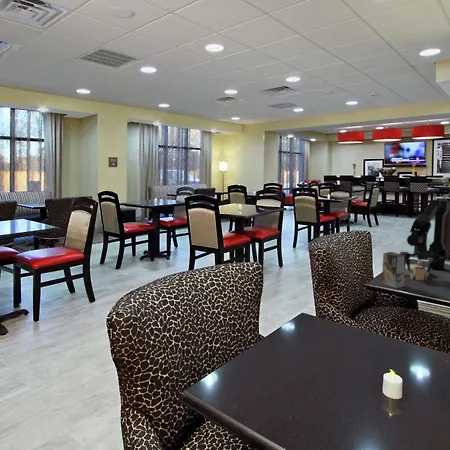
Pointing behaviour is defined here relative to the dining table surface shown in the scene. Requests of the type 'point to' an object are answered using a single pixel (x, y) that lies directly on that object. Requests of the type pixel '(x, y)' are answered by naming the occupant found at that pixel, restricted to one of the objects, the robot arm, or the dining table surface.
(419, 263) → the mower deck
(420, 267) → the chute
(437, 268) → the robot arm
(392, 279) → the coffee box
